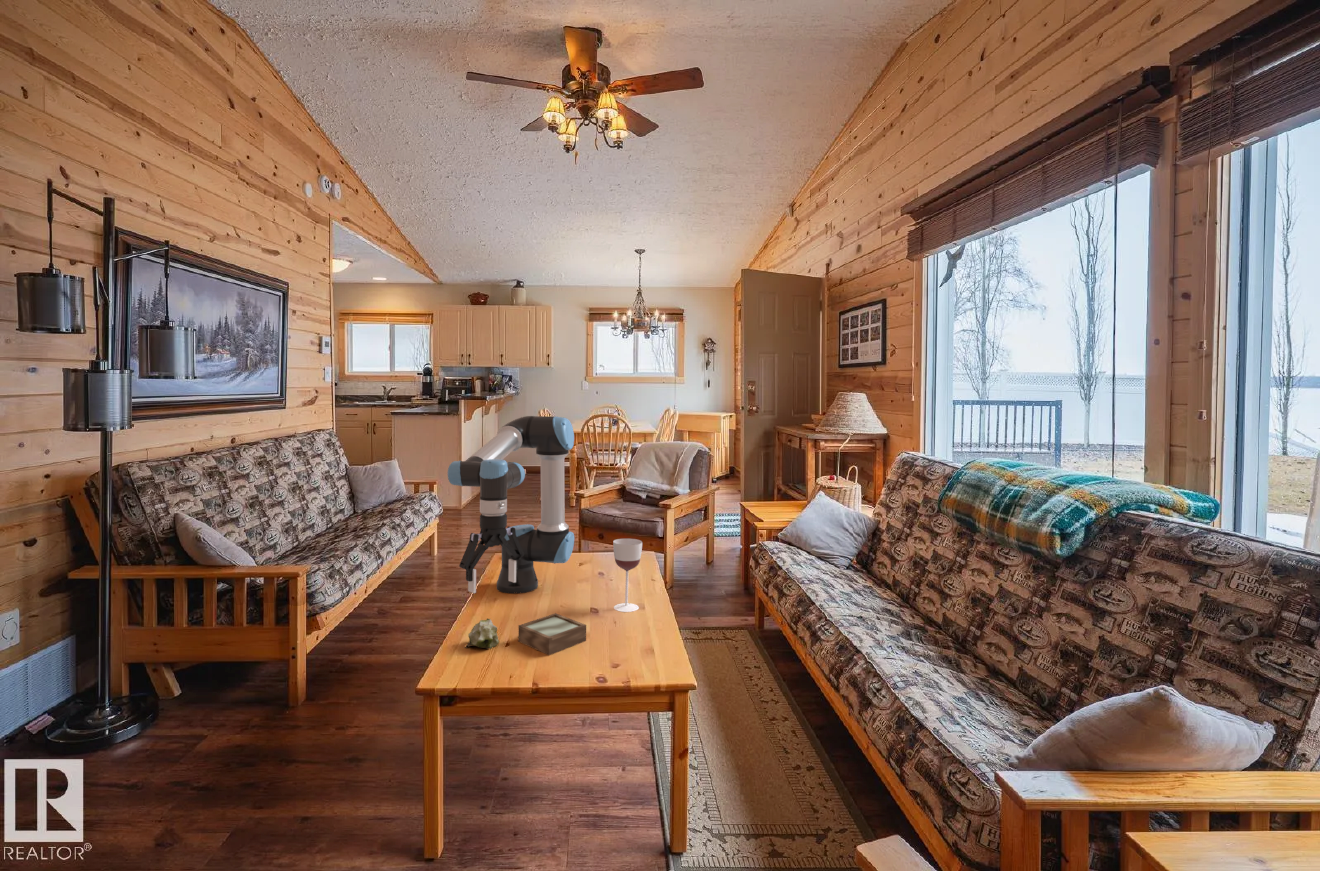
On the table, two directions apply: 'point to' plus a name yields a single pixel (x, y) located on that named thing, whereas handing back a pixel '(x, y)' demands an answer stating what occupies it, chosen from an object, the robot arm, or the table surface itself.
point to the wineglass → (627, 565)
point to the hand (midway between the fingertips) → (492, 586)
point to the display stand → (552, 633)
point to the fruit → (483, 635)
